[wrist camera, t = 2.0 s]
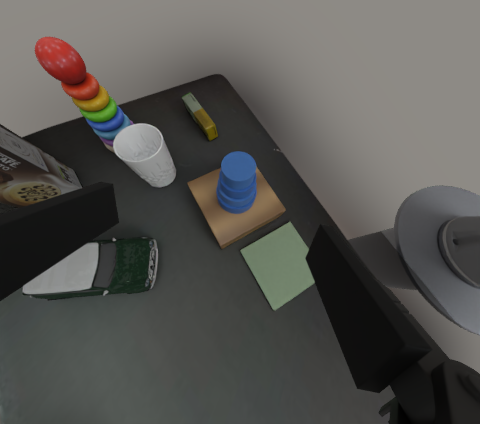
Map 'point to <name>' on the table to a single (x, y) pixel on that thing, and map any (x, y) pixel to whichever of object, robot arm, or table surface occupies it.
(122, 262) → the miniature car
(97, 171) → the table surface
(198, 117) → the medication box
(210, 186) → the platform
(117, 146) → the white cup
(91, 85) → the stacking toy
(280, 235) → the coaster
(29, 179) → the coffee box
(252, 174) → the stacked blue discs
